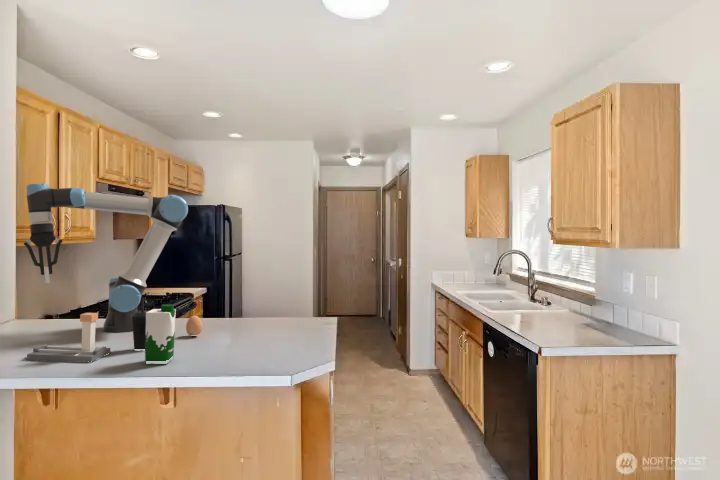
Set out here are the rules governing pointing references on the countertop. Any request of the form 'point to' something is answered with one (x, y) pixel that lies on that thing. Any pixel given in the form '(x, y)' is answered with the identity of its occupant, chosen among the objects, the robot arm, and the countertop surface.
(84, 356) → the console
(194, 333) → the egg
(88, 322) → the fader
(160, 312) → the milk carton
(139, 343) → the drinking cup
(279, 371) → the countertop surface
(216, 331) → the countertop surface
